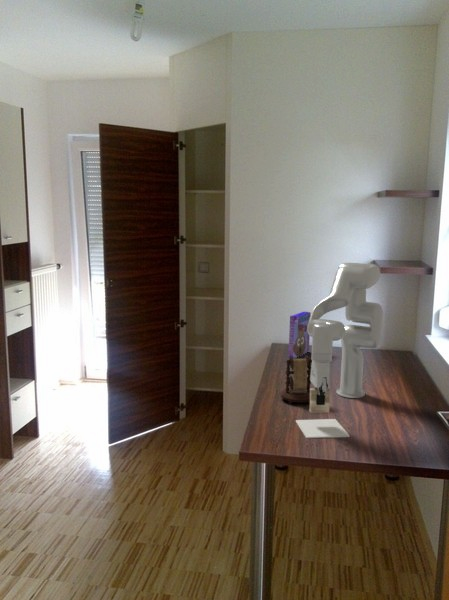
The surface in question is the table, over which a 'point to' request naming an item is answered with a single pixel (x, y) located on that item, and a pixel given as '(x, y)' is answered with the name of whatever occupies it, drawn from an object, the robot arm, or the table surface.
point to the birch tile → (313, 406)
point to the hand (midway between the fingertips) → (319, 402)
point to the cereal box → (299, 334)
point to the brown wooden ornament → (298, 380)
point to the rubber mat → (321, 428)
